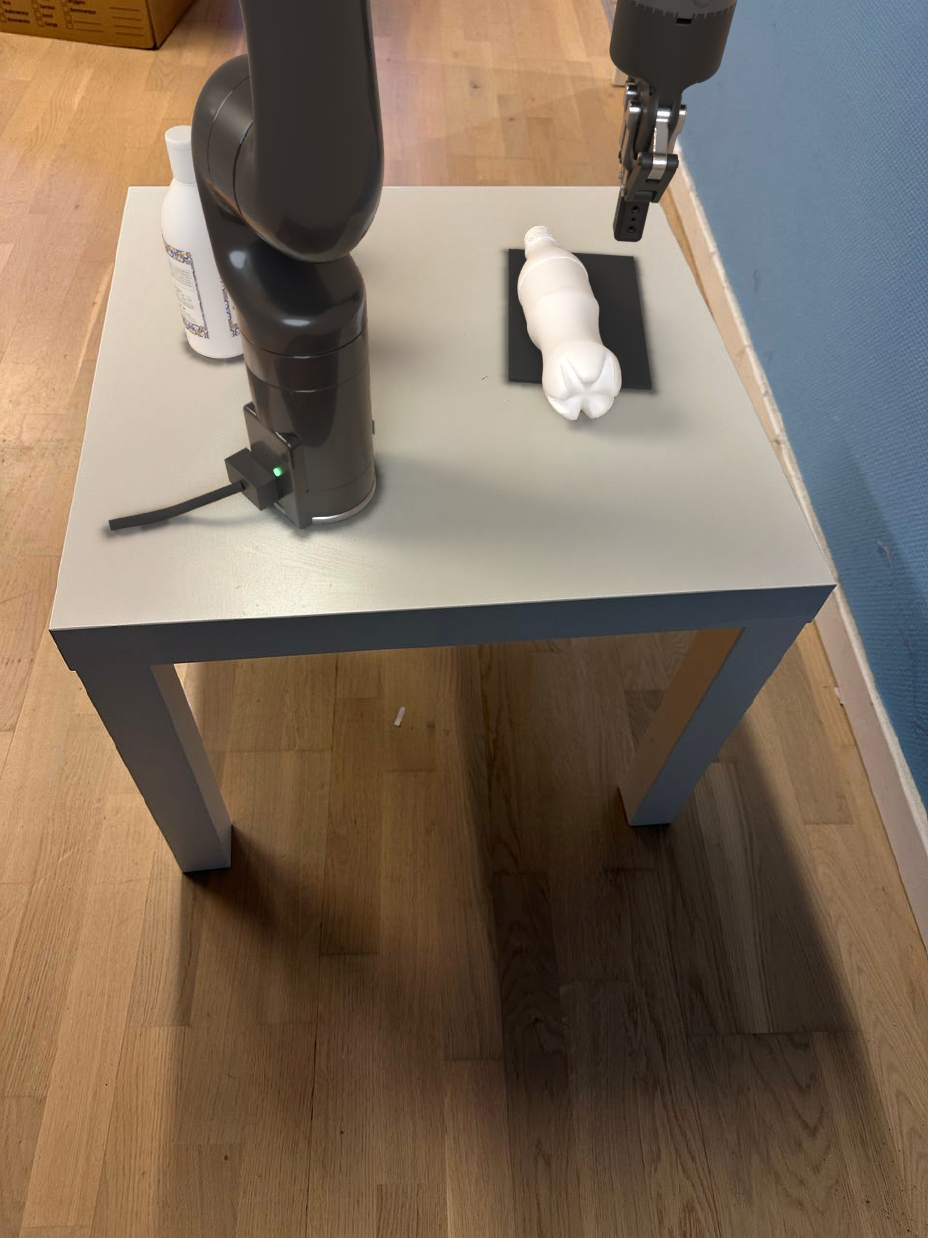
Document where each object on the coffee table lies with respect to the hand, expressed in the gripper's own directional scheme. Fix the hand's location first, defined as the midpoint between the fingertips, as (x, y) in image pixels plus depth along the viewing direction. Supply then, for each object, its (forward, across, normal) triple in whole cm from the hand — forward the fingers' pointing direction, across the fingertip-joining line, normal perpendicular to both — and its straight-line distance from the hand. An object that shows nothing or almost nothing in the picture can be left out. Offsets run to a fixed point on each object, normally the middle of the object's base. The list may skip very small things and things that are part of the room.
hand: (626, 236), depth 71 cm
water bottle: (+14, +3, -1) cm, 15 cm away
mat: (+18, -15, -1) cm, 23 cm away
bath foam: (+18, -8, -36) cm, 41 cm away
